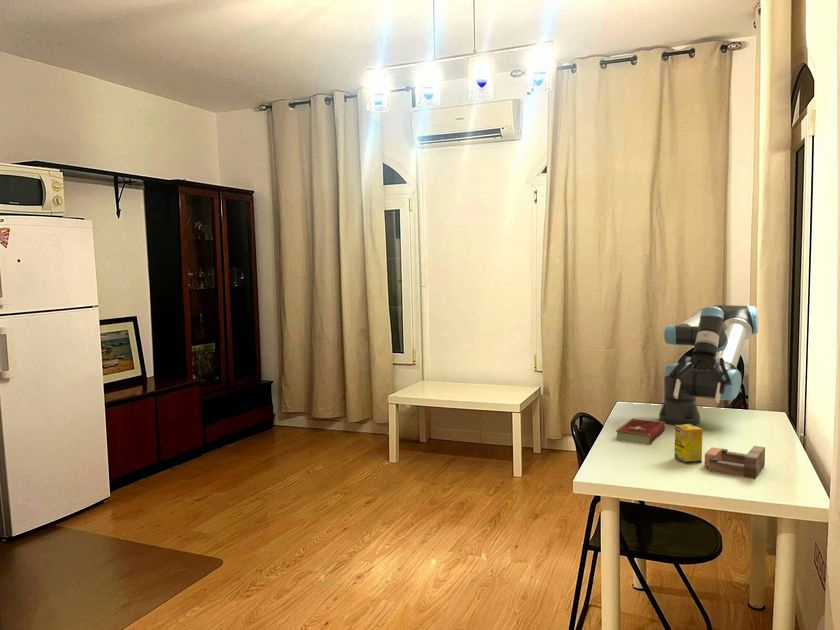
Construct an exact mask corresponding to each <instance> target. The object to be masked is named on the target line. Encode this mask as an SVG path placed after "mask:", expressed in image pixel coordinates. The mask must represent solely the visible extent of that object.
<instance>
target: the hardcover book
mask: <svg viewBox="0 0 840 630" xmlns="http://www.w3.org/2000/svg"><path fill="white" fill-rule="evenodd" d="M664 431H666V423H664V422H661V421H656V420H647V419H641V418H640V419H639V418H631V419H629V420H628V421H627V422H625V423H624V424H622V425H621V426H620V427H618V428H617V429H616V430H615V432H616V440H617V441H620V440H625V441H624V442H627V441H631V442H630V443H634V442H638V443H637V444H641V443H645V444H644V445H648V444H649V445H648V446H651V445H652V444H653V443H652V442H653V441H654V440H655V439H656V438H657V437H658V438H660V436H661V435H663V434H664V433H665V432H664ZM663 432H664V433H663ZM658 438H657V439H658ZM657 439H656V440H657ZM656 440H655V441H656ZM655 441H654V442H655Z"/></svg>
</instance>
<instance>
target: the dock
mask: <svg viewBox="0 0 840 630" xmlns="http://www.w3.org/2000/svg"><path fill="white" fill-rule="evenodd" d="M721 449H722V461H720V460H719V458H713V457H711V458H710V459H709V467H708V471H709V472H712V473H719V474H724V475H725V474H726V475H729V476H730V475H731V476H736V477H742V478H748V479H752V478H753V480H756V479H757V478H756V477H758V476H759V475H760V474H759V473H761V472H762V471H763V470H764V468H765V467H764V466H766V464H765V462H766V459H765V458H766V447H765V446H758V445H753V446H752V448H751V449H749V451H748V452H747V453H741V452H735V451H734V452H733V451H728V449H727V448H721ZM761 470H762V471H761Z"/></svg>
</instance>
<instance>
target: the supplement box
mask: <svg viewBox="0 0 840 630" xmlns="http://www.w3.org/2000/svg"><path fill="white" fill-rule="evenodd" d="M673 451H674V454H673V455H674V456H673V457H674V459H675V460H677V461H680V462H681V463H683V464H685V465H687V464H688V465H689V464H700V463H702V462H703V461H702V460H703V428H701V427H698V426H696V425H691V424H687V425H674V450H673Z"/></svg>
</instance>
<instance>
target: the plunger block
mask: <svg viewBox="0 0 840 630" xmlns="http://www.w3.org/2000/svg"><path fill="white" fill-rule="evenodd" d="M722 449H723V448H721V447H718V448H717V447H714V446H713V447H710V448H709V449H708V450H707V451H706V452H705V453H704V467H706V468H709V459H710V458H711V457H713V458H719V460H720V461H722Z"/></svg>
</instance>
